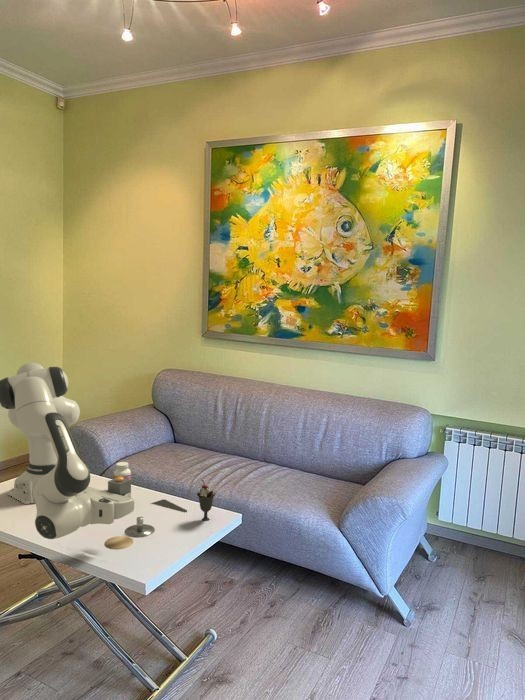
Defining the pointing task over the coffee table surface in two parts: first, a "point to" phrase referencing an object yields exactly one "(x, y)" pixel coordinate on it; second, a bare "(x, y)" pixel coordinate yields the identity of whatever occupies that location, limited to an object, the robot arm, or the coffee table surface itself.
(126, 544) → the coaster
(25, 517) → the coffee table surface
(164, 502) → the smartphone
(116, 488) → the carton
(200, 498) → the sundae
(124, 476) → the supplement bottle
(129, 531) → the grey knobbed dome
